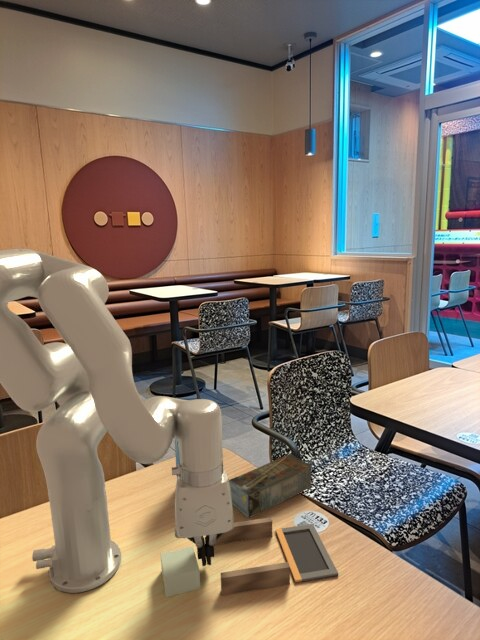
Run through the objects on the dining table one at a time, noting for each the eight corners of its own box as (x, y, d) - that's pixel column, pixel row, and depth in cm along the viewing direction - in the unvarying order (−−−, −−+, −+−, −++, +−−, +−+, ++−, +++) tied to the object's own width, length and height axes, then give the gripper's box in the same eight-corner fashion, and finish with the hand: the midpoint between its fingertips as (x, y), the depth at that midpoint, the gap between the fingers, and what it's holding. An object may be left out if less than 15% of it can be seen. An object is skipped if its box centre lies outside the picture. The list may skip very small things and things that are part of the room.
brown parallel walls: (222, 595, 74) (221, 578, 74) (212, 541, 87) (212, 525, 86) (289, 584, 76) (289, 567, 76) (270, 532, 89) (270, 517, 89)
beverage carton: (227, 501, 100) (227, 476, 98) (290, 473, 111) (290, 450, 109) (248, 520, 93) (247, 493, 92) (313, 488, 104) (313, 463, 103)
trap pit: (295, 583, 77) (295, 580, 76) (275, 531, 89) (275, 529, 89) (338, 575, 78) (338, 572, 78) (312, 526, 91) (312, 523, 91)
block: (165, 598, 74) (164, 578, 74) (161, 572, 80) (160, 553, 79) (200, 589, 76) (199, 569, 75) (194, 564, 82) (192, 545, 81)
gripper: (158, 488, 71) (165, 582, 75) (247, 476, 74) (249, 569, 78) (158, 464, 79) (164, 551, 82) (239, 454, 81) (242, 540, 85)
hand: (206, 559), depth 80 cm, fingers closed
